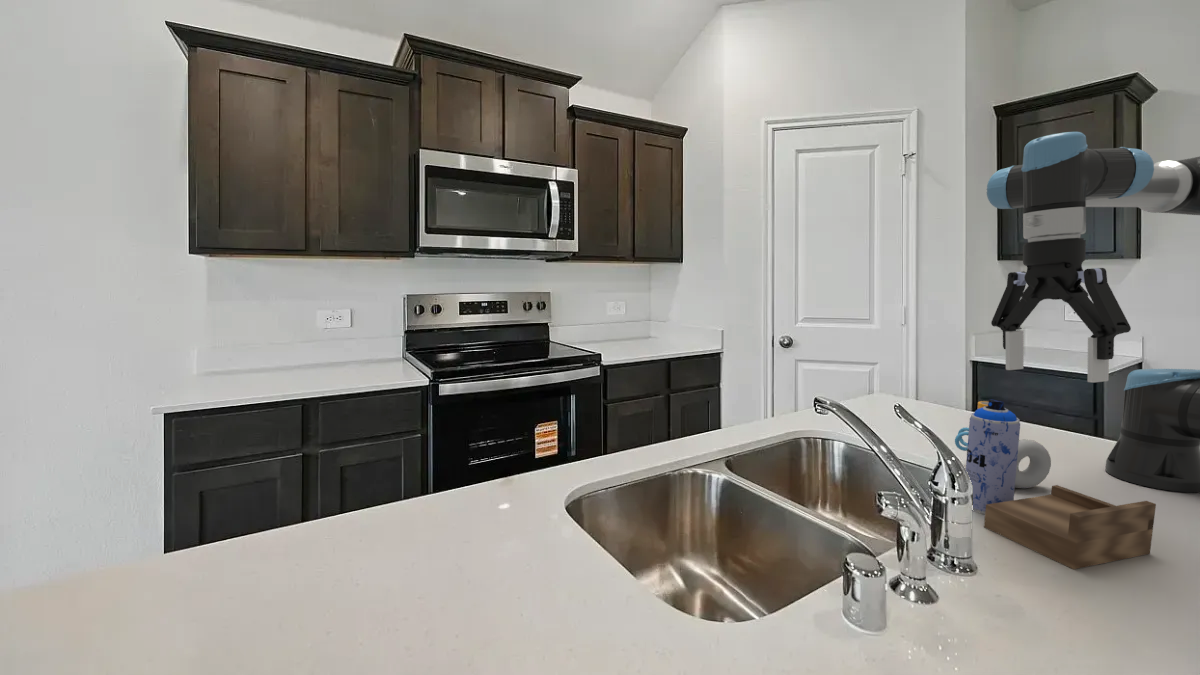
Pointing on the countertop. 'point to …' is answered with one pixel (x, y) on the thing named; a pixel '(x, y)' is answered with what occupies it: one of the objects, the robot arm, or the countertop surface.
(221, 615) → the countertop surface
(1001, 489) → the aerosol can
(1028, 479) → the donut
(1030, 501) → the shelf step
